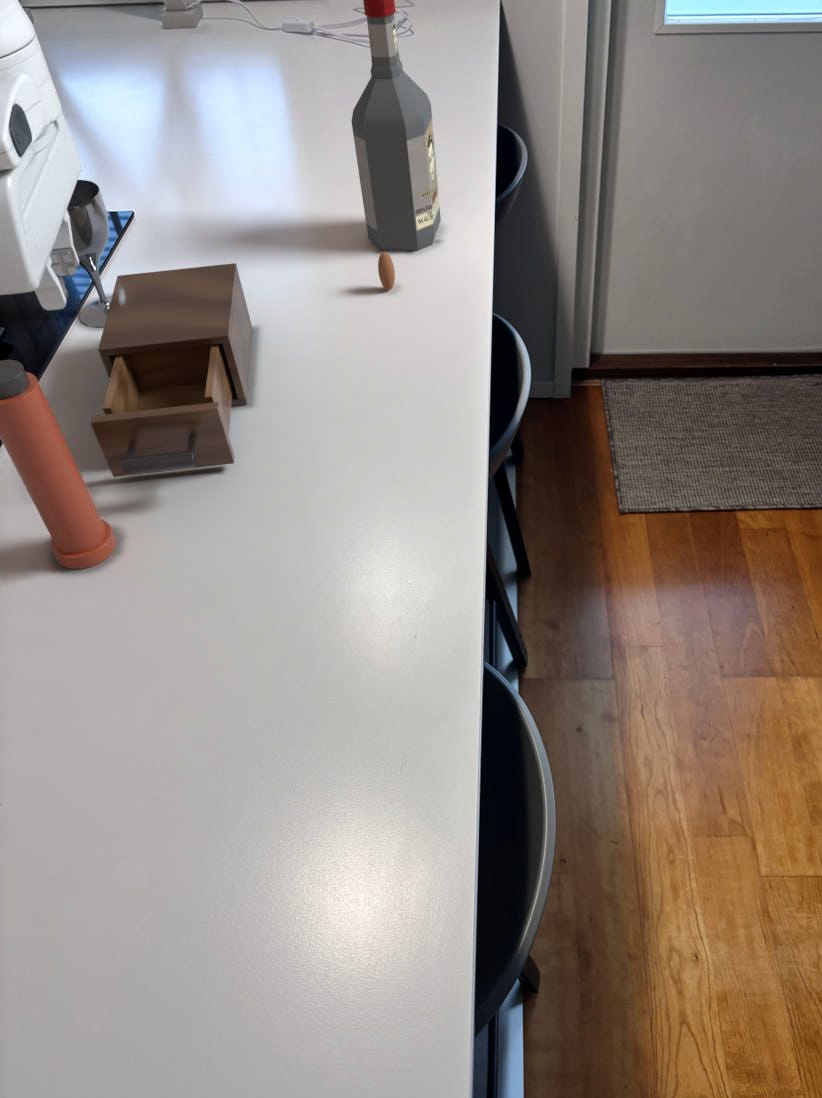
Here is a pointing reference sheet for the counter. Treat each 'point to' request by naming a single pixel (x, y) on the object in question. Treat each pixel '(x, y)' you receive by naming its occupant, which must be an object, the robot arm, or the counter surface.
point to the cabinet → (181, 317)
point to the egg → (386, 271)
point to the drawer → (167, 411)
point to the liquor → (395, 145)
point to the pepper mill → (50, 471)
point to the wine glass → (90, 243)
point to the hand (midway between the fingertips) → (62, 287)
